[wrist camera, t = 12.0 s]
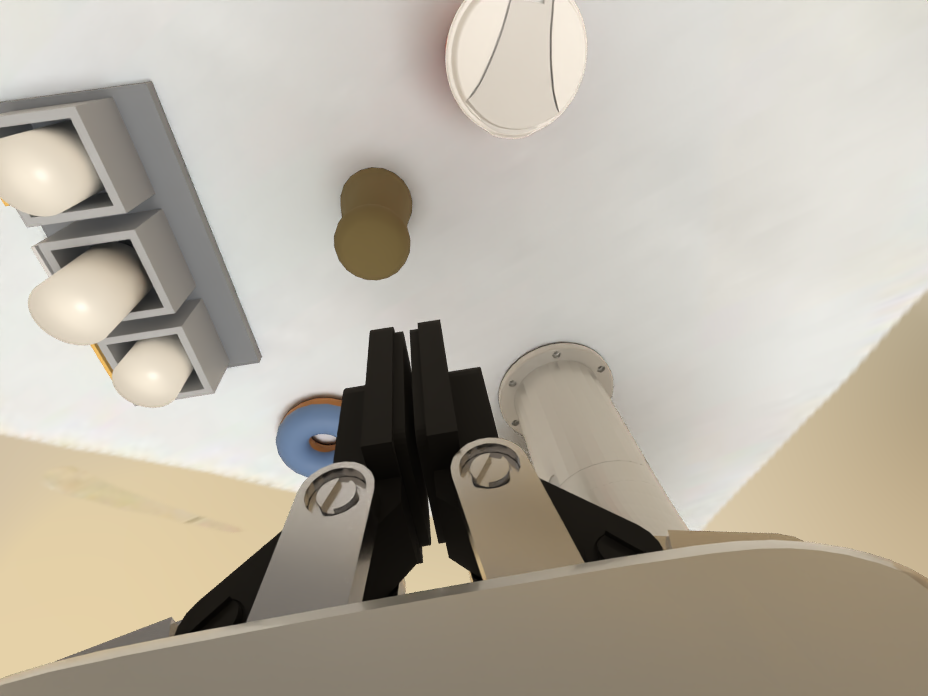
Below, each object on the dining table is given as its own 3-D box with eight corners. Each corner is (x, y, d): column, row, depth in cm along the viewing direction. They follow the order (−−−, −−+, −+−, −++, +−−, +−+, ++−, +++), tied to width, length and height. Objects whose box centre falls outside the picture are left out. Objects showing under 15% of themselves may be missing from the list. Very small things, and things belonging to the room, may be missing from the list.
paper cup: (436, -21, 35) (458, -48, 23) (542, -2, 36) (613, -18, 24) (425, 102, 39) (439, 133, 27) (521, 116, 40) (573, 151, 28)
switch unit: (261, 356, 49) (246, 394, 44) (134, 376, 49) (104, 416, 44) (151, 81, 36) (112, 89, 31) (-23, 105, 36) (-92, 117, 31)
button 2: (214, 356, 47) (188, 402, 41) (162, 364, 47) (129, 411, 41) (193, 311, 44) (163, 353, 39) (139, 319, 44) (99, 363, 38)
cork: (346, 241, 44) (334, 297, 35) (334, 170, 41) (316, 210, 32) (415, 235, 44) (421, 289, 35) (408, 164, 41) (412, 203, 32)
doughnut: (257, 430, 54) (252, 461, 50) (322, 373, 51) (322, 402, 48) (328, 470, 59) (328, 501, 55) (390, 420, 57) (394, 449, 53)
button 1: (135, 183, 38) (88, 210, 33) (71, 192, 38) (12, 221, 32) (103, 115, 36) (46, 131, 30) (35, 124, 36) (-37, 143, 30)
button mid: (165, 294, 40) (125, 339, 34) (104, 303, 40) (54, 350, 34) (137, 236, 38) (89, 275, 32) (71, 246, 37) (11, 286, 32)
